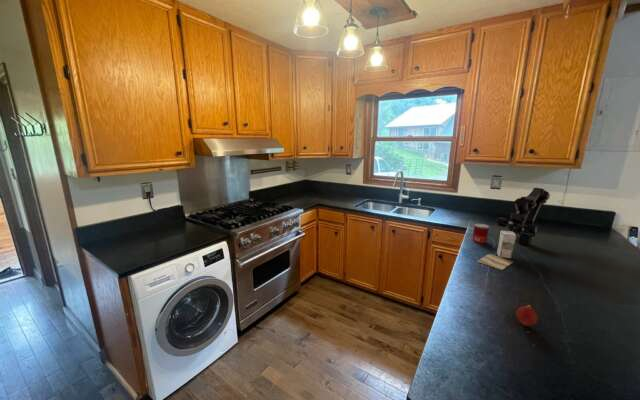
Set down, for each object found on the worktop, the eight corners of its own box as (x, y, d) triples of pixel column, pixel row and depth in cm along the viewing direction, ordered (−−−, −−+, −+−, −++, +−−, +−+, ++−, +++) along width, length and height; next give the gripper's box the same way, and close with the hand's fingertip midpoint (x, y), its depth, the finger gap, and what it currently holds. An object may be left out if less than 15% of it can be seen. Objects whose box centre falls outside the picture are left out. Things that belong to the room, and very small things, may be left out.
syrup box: (507, 254, 150) (512, 231, 146) (511, 259, 144) (516, 234, 141) (496, 253, 151) (500, 229, 148) (499, 257, 146) (503, 233, 143)
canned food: (488, 244, 165) (491, 227, 163) (474, 243, 167) (477, 226, 164) (483, 239, 172) (486, 224, 170) (470, 238, 174) (472, 223, 171)
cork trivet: (488, 254, 150) (489, 253, 150) (513, 262, 140) (513, 261, 140) (476, 261, 140) (476, 261, 140) (501, 270, 131) (501, 269, 131)
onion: (510, 319, 95) (514, 300, 93) (525, 319, 95) (529, 299, 93) (523, 331, 89) (528, 310, 87) (539, 330, 90) (544, 310, 88)
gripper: (500, 204, 156) (490, 225, 152) (539, 211, 141) (529, 234, 137) (503, 215, 162) (493, 235, 158) (541, 222, 147) (531, 245, 143)
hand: (510, 237), depth 149 cm, fingers closed
